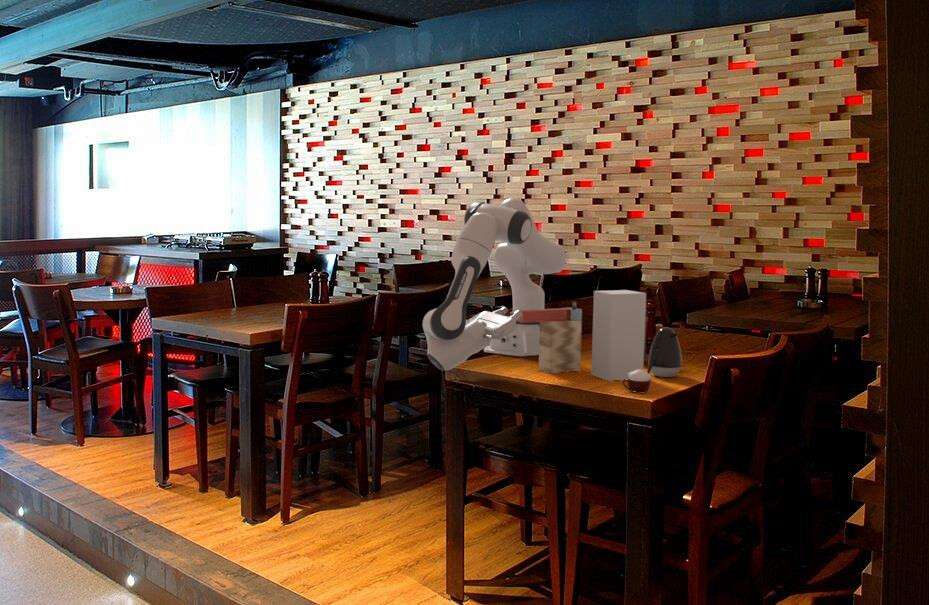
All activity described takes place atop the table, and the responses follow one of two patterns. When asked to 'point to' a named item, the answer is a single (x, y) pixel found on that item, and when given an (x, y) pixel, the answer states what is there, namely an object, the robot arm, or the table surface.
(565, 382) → the table surface
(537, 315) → the pin spanner
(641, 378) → the cocoa
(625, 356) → the tall grey pillar block
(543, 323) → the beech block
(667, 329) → the grey rounded upright piece
